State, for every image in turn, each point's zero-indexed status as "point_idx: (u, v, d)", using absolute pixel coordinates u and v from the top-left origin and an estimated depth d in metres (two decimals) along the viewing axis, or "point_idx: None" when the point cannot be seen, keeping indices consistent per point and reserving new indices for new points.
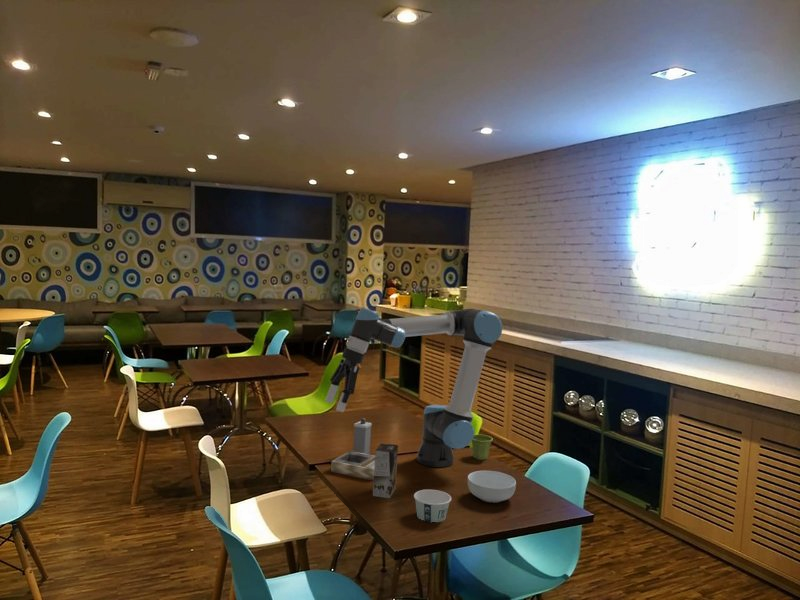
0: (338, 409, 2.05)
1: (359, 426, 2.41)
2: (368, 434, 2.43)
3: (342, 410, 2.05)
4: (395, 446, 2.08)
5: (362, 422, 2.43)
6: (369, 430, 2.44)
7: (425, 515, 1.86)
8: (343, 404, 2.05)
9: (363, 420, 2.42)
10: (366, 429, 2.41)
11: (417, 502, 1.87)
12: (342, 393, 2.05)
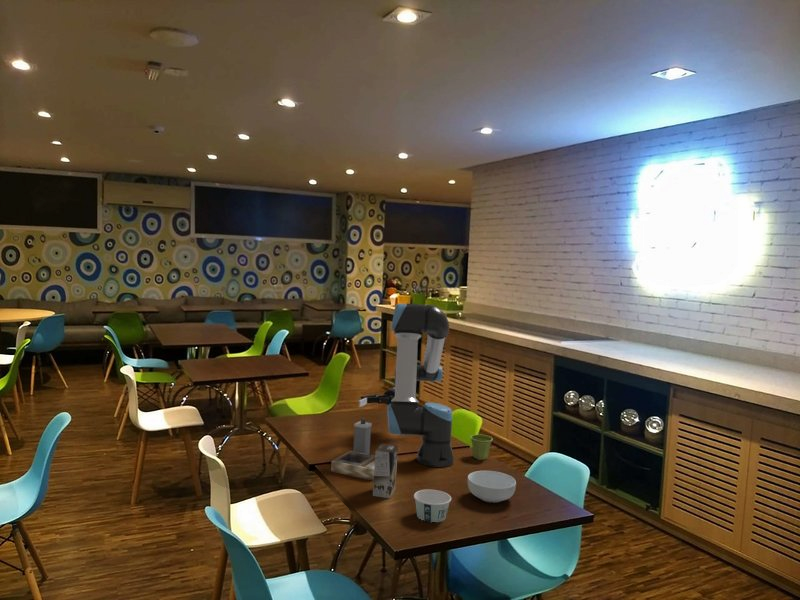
0: None
1: (359, 426, 2.41)
2: (368, 434, 2.43)
3: None
4: (395, 446, 2.08)
5: (362, 422, 2.43)
6: (369, 430, 2.44)
7: (425, 515, 1.86)
8: None
9: (363, 420, 2.42)
10: (366, 429, 2.41)
11: (417, 502, 1.87)
12: None
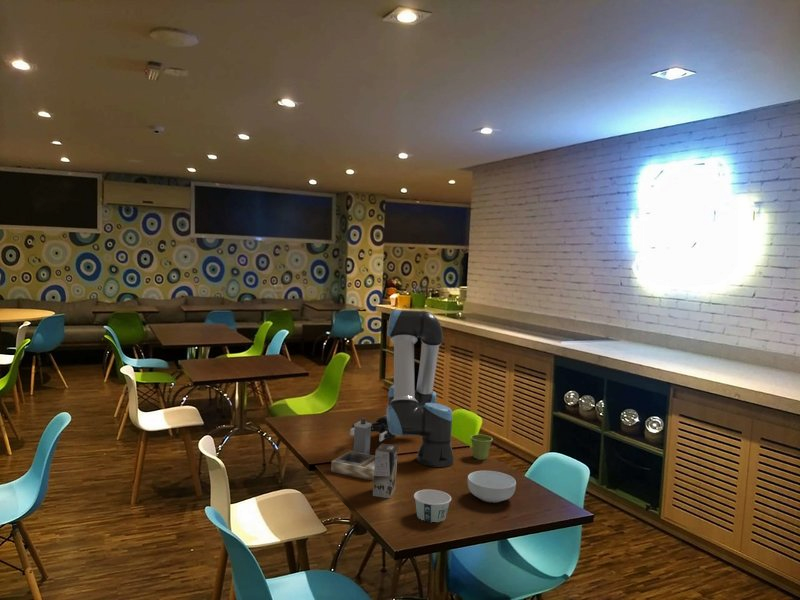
0: None
1: (359, 426, 2.41)
2: (368, 434, 2.43)
3: None
4: (395, 446, 2.08)
5: (362, 422, 2.43)
6: (369, 430, 2.44)
7: (425, 515, 1.86)
8: None
9: (363, 420, 2.42)
10: (366, 429, 2.41)
11: (417, 502, 1.87)
12: None
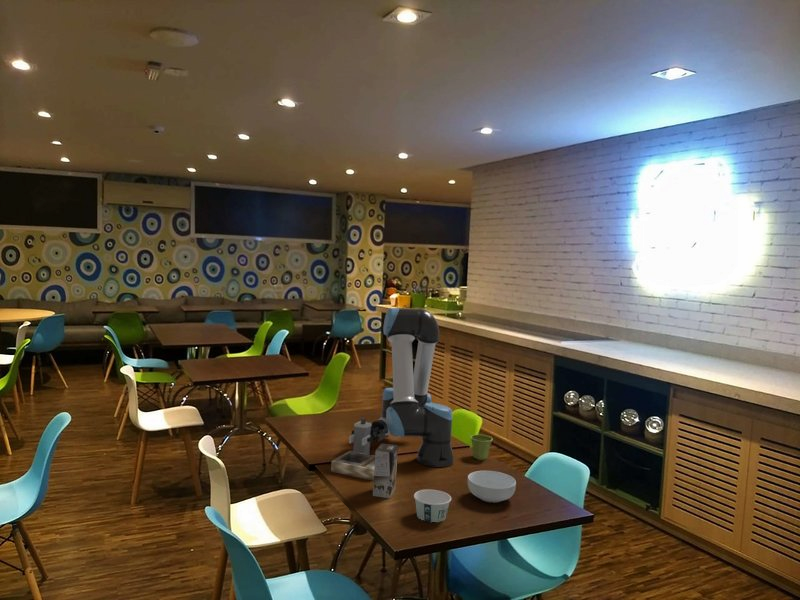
0: None
1: (359, 426, 2.41)
2: (368, 434, 2.43)
3: None
4: (395, 446, 2.08)
5: (362, 422, 2.43)
6: (369, 430, 2.44)
7: (425, 515, 1.86)
8: None
9: (363, 420, 2.42)
10: (366, 429, 2.41)
11: (417, 502, 1.87)
12: None
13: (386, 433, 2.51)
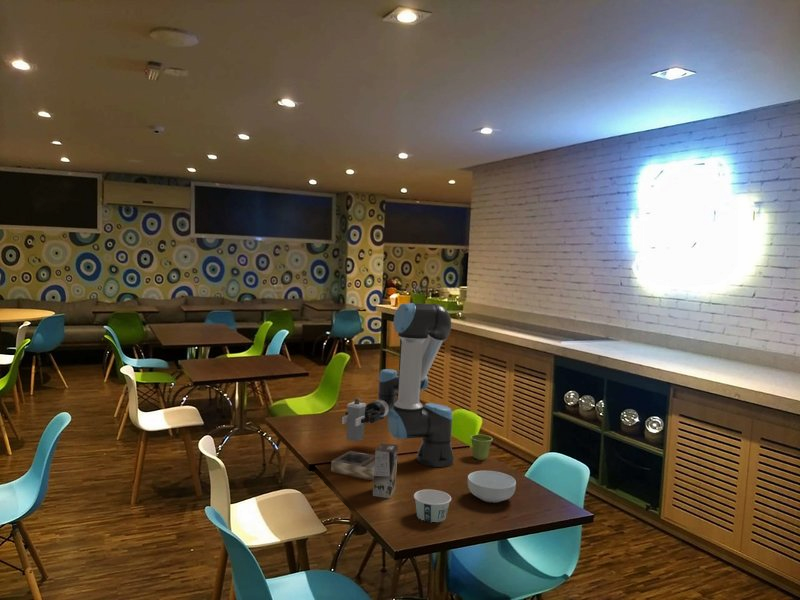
0: None
1: (353, 406, 2.32)
2: (362, 414, 2.33)
3: None
4: (395, 446, 2.08)
5: (356, 402, 2.33)
6: (363, 411, 2.34)
7: (425, 515, 1.86)
8: None
9: (357, 400, 2.33)
10: (360, 409, 2.32)
11: (417, 502, 1.87)
12: None
13: (381, 415, 2.41)
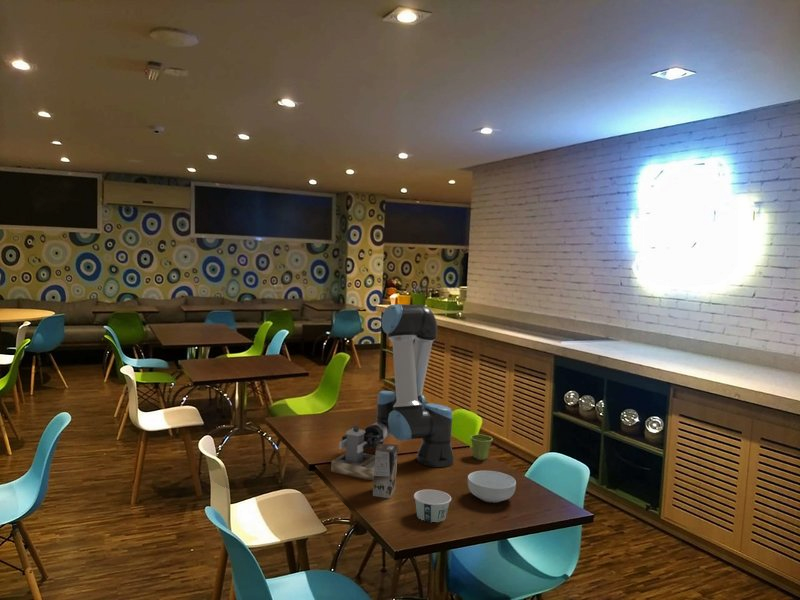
0: None
1: (352, 434, 2.27)
2: (361, 442, 2.29)
3: None
4: (395, 446, 2.08)
5: (355, 429, 2.28)
6: (362, 438, 2.30)
7: (425, 515, 1.86)
8: None
9: (356, 427, 2.28)
10: (359, 437, 2.27)
11: (417, 502, 1.87)
12: None
13: (381, 439, 2.37)
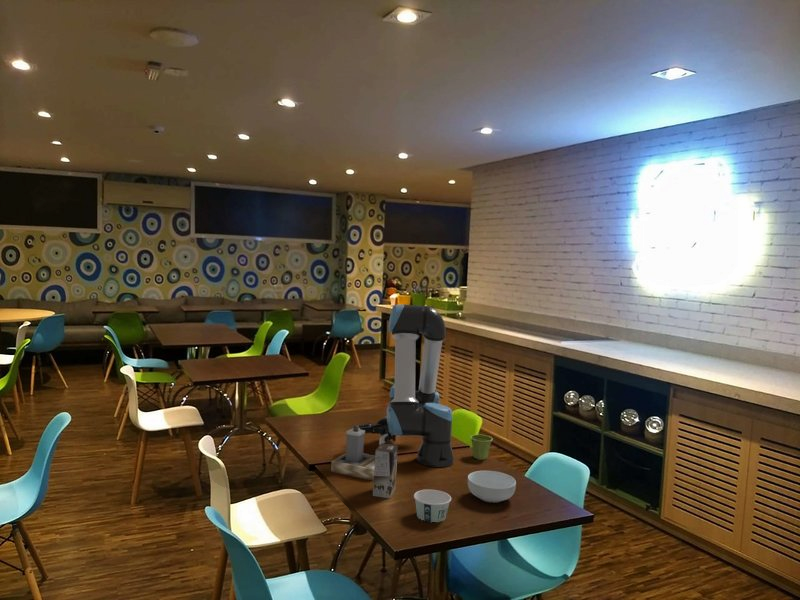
0: None
1: (352, 434, 2.27)
2: (361, 442, 2.29)
3: None
4: (395, 446, 2.08)
5: (355, 429, 2.28)
6: (362, 438, 2.30)
7: (425, 515, 1.86)
8: None
9: (356, 427, 2.28)
10: (359, 437, 2.27)
11: (417, 502, 1.87)
12: None
13: None
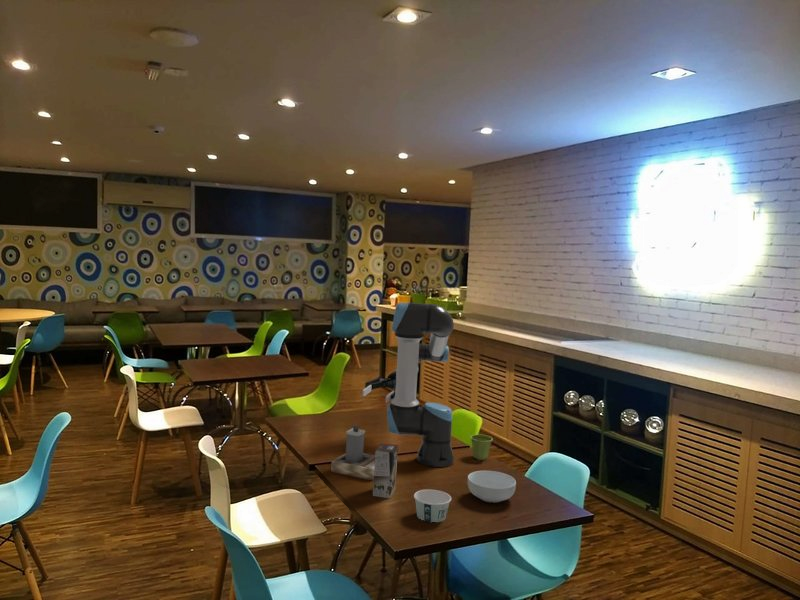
0: None
1: (352, 434, 2.27)
2: (361, 442, 2.29)
3: None
4: (395, 446, 2.08)
5: (355, 429, 2.28)
6: (362, 438, 2.30)
7: (425, 515, 1.86)
8: None
9: (356, 427, 2.28)
10: (359, 437, 2.27)
11: (417, 502, 1.87)
12: None
13: None
